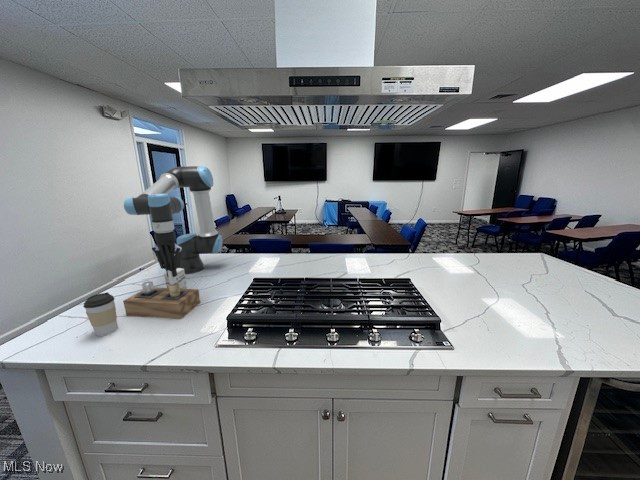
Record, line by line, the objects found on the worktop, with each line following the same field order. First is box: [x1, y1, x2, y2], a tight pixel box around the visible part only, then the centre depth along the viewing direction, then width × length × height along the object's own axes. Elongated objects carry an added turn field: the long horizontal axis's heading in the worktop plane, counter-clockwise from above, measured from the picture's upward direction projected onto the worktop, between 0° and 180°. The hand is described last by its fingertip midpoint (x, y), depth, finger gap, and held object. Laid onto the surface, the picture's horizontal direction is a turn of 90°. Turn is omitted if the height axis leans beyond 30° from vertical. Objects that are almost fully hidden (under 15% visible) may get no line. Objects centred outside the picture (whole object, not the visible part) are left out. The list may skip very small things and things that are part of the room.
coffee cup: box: [83, 292, 119, 337], centre depth 97 cm, size 9×9×15 cm
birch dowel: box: [169, 282, 181, 297], centre depth 111 cm, size 4×4×7 cm
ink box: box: [163, 268, 188, 289], centre depth 130 cm, size 9×5×12 cm, turn 168°
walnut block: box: [122, 286, 201, 319], centre depth 113 cm, size 14×26×7 cm, turn 83°
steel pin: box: [141, 281, 155, 296], centre depth 113 cm, size 4×4×7 cm
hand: (173, 283), depth 110 cm, fingers closed
